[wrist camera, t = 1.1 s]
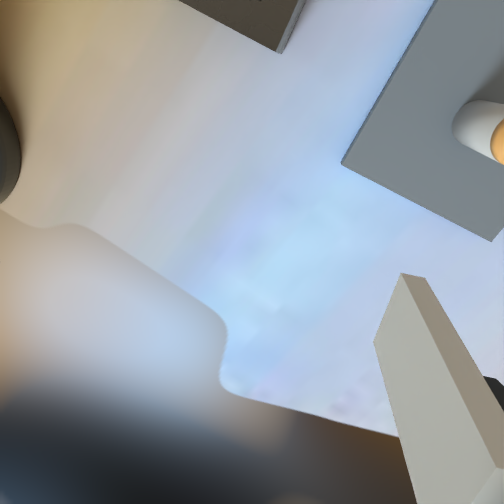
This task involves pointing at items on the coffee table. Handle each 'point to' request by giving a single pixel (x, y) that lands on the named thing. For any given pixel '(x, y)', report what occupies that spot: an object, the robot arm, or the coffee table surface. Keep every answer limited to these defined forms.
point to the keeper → (443, 118)
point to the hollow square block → (255, 18)
